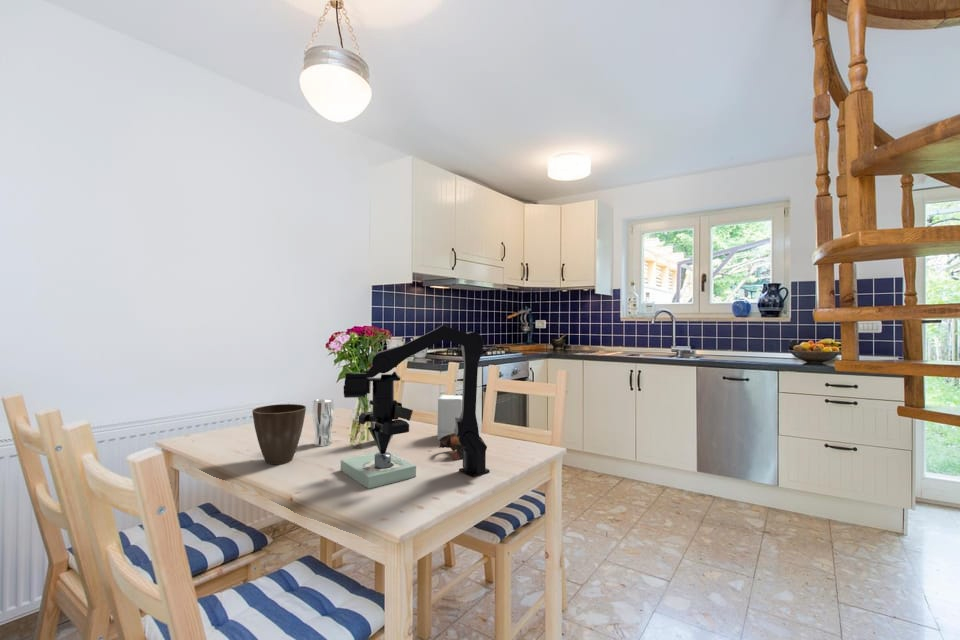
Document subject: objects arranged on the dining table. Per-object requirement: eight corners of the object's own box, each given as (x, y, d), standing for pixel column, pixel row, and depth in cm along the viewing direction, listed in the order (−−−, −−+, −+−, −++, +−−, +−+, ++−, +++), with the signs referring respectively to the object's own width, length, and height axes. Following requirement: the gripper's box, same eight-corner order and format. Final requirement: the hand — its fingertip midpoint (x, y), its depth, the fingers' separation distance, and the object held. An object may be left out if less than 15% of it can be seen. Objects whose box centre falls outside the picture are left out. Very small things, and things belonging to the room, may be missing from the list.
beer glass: (312, 442, 155) (313, 399, 155) (333, 440, 157) (334, 398, 157) (311, 447, 148) (311, 402, 148) (333, 445, 150) (333, 402, 150)
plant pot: (258, 455, 139) (258, 404, 139) (308, 451, 143) (308, 402, 143) (246, 470, 125) (246, 414, 125) (302, 466, 129) (302, 411, 129)
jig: (415, 476, 121) (416, 465, 121) (368, 488, 112) (368, 477, 112) (384, 460, 135) (384, 450, 135) (340, 470, 126) (340, 459, 126)
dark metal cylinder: (393, 476, 121) (393, 455, 121) (379, 480, 118) (379, 458, 118) (386, 472, 124) (386, 451, 124) (371, 476, 121) (371, 454, 121)
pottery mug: (444, 463, 134) (436, 437, 138) (444, 467, 143) (437, 443, 146) (481, 451, 137) (473, 425, 140) (479, 456, 145) (471, 432, 148)
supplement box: (461, 441, 157) (461, 399, 157) (437, 440, 158) (437, 398, 158) (465, 434, 166) (465, 395, 166) (441, 433, 167) (442, 394, 167)
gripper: (426, 398, 119) (426, 456, 119) (392, 390, 133) (392, 441, 133) (389, 403, 112) (389, 464, 112) (358, 393, 126) (357, 448, 126)
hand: (382, 453), depth 121 cm, fingers closed
